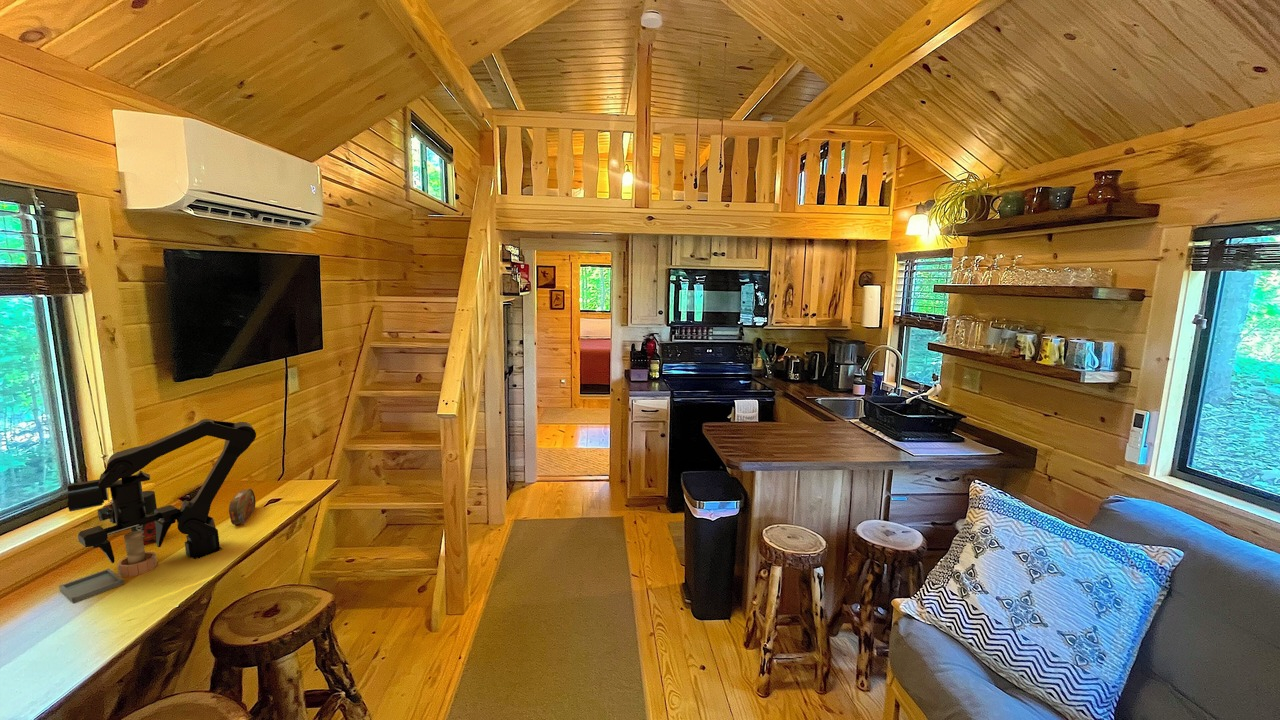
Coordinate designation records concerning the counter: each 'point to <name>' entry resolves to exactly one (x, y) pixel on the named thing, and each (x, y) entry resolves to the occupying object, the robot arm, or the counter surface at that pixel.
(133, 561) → the pin
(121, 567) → the terracotta faceted bowl
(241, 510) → the tin
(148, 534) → the deodorant
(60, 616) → the counter surface
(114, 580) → the tray
